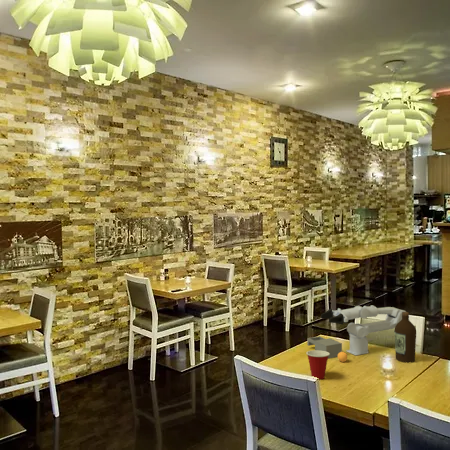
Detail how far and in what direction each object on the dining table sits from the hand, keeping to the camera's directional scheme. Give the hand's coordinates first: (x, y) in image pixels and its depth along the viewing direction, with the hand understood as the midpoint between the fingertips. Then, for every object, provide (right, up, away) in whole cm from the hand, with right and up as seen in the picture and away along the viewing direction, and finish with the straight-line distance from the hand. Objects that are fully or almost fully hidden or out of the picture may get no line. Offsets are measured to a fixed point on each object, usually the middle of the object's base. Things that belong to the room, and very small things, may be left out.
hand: (325, 318), depth 235 cm
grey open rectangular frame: (+1, -21, +9) cm, 22 cm away
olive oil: (+41, -21, -5) cm, 46 cm away
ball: (+7, -19, -6) cm, 21 cm away
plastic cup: (-10, -22, -27) cm, 36 cm away
